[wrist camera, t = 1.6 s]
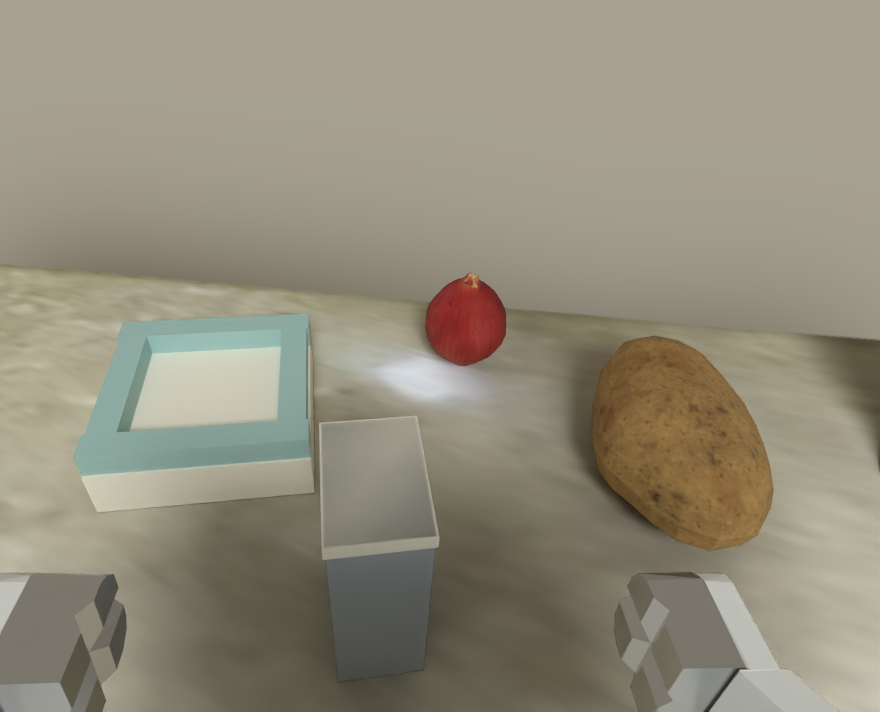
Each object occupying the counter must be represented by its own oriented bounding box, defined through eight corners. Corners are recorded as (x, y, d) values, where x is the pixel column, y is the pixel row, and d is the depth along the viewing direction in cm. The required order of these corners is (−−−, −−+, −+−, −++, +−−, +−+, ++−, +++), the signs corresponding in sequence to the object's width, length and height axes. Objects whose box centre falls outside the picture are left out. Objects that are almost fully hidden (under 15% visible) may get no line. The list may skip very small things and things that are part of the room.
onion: (414, 343, 48) (418, 254, 43) (483, 333, 50) (495, 245, 45) (436, 394, 44) (443, 301, 39) (511, 381, 46) (527, 290, 41)
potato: (610, 595, 33) (652, 502, 28) (557, 408, 44) (580, 316, 39) (784, 591, 34) (856, 500, 29) (690, 408, 45) (731, 319, 40)
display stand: (313, 361, 46) (308, 312, 43) (314, 492, 37) (308, 441, 34) (140, 371, 44) (123, 320, 41) (97, 512, 35) (72, 459, 32)
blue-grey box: (409, 556, 34) (417, 415, 27) (425, 671, 30) (439, 538, 22) (332, 565, 34) (319, 422, 26) (336, 684, 29) (321, 550, 22)
